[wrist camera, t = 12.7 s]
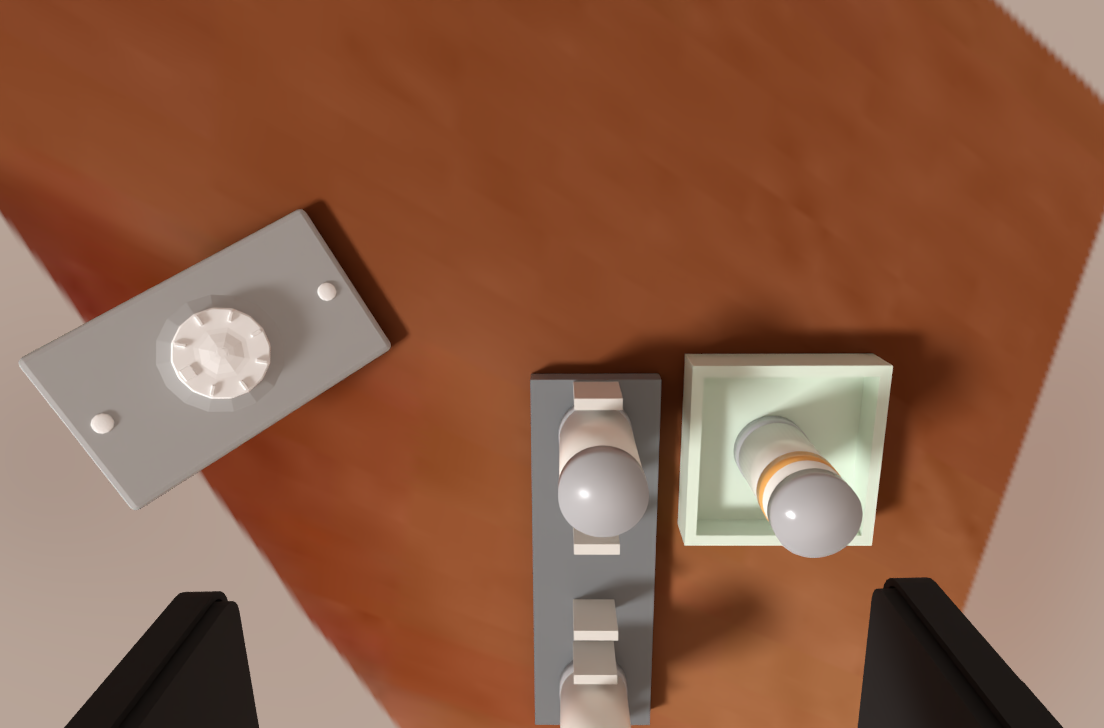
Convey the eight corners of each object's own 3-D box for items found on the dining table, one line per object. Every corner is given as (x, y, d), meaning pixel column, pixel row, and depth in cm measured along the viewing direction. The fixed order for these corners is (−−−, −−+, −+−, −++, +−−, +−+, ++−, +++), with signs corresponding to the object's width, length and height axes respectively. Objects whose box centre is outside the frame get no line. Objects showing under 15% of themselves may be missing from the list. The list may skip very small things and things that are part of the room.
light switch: (398, 347, 39) (131, 517, 34) (376, 349, 44) (144, 496, 39) (304, 202, 37) (7, 360, 32) (294, 223, 42) (39, 361, 37)
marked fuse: (736, 414, 40) (777, 476, 33) (809, 416, 40) (868, 478, 33) (730, 481, 41) (768, 556, 34) (802, 483, 41) (856, 558, 34)
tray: (684, 354, 40) (692, 366, 38) (872, 353, 40) (893, 365, 38) (677, 523, 43) (684, 545, 40) (854, 524, 43) (871, 545, 40)
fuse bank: (531, 373, 41) (522, 432, 32) (658, 373, 40) (686, 432, 32) (535, 710, 46) (529, 840, 37) (647, 710, 46) (668, 841, 37)
